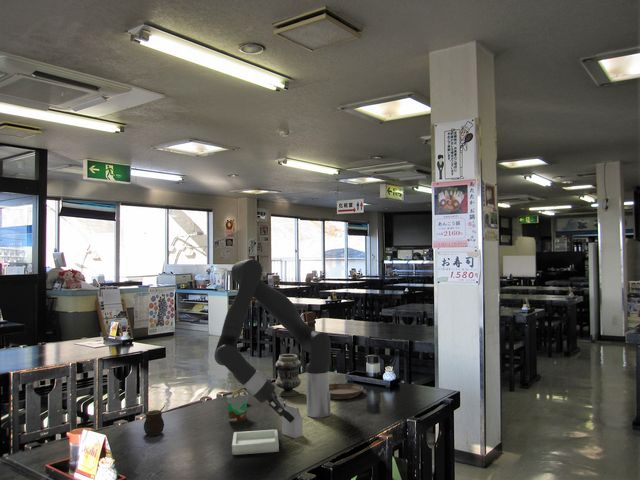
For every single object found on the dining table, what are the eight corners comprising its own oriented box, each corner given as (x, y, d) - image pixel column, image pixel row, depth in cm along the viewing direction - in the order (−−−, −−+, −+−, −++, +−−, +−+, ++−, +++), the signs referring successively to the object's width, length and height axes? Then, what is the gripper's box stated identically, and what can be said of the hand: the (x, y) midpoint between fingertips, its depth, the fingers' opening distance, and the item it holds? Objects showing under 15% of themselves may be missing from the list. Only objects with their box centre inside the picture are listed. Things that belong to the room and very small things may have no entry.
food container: (242, 424, 194) (242, 398, 195) (227, 424, 196) (227, 397, 196) (253, 415, 206) (252, 390, 207) (239, 414, 208) (238, 389, 208)
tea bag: (294, 438, 178) (294, 409, 178) (282, 434, 183) (281, 405, 183) (302, 435, 180) (301, 407, 181) (290, 431, 185) (289, 403, 186)
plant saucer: (322, 389, 247) (321, 382, 247) (364, 389, 244) (364, 382, 244) (315, 400, 226) (315, 393, 227) (362, 401, 224) (361, 393, 224)
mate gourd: (142, 432, 188) (142, 405, 188) (164, 429, 191) (163, 402, 191) (144, 438, 181) (144, 410, 182) (166, 435, 184) (165, 407, 185)
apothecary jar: (300, 397, 232) (299, 357, 233) (274, 397, 232) (273, 358, 233) (301, 390, 244) (301, 352, 245) (277, 391, 244) (276, 353, 245)
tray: (277, 438, 178) (277, 429, 178) (278, 451, 165) (278, 442, 166) (234, 441, 176) (233, 432, 177) (232, 454, 164) (232, 445, 164)
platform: (263, 404, 223) (262, 389, 223) (226, 413, 212) (226, 397, 212) (249, 399, 232) (248, 384, 233) (213, 407, 221) (213, 392, 221)
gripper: (266, 382, 174) (300, 414, 175) (266, 374, 188) (297, 403, 189) (251, 399, 173) (285, 431, 174) (251, 389, 188) (283, 418, 188)
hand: (291, 416), depth 182 cm, fingers open, 8 cm apart
